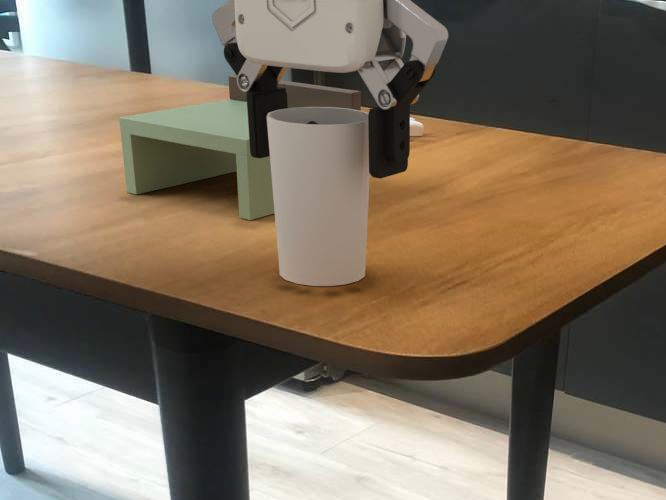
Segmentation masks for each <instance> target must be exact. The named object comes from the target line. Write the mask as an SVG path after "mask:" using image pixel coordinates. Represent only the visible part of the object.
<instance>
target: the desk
mask: <svg viewBox="0 0 666 500" xmlns="http://www.w3.org/2000/svg"><path fill="white" fill-rule="evenodd" d="M227 77H228V96H229V99H226V100H225V99H224V100H223V99H222V100H218V101H212V102H206V103H199V104H193V105H192V104H191V105H186V106H180V107H174V108H169V109H162V110H155V111H150V112H143V113H138V114H130V115H125V116H120V117H118V121H119V130H120V131H119V132H120V139H121V149H122V159H123V160H122V161H123V168H124V169H123V171H124V180H125V187H126V188H125V189H126V193H128V194H131V195H136V196H137V195H140V194H146V193H149V192H154V191H158V190H163V189H166V188H172V187H176V186H180V185H184V184H185V185H186V184H188V183H193V182H197V181H202V180H207V179H211V178H214V177H215V178H216V177H218V176H222V175H228V174H231V173H236V179H237V181H236V182H237V201H238V217H239V218H240V219H242V220H248V221H253V220H256V219H260V218H263V217H267V216H271V215H275V212H274V200H273V188H272V176H271V163H270V156H269V157H264V158H254V157H252V156H251V154H250V142H249V126H248V111H247V96H246V93H247V92H243V91H241V90H240V89H239V87H238V85H237V75H236V74H229V75H228V76H227ZM277 87H283V88H286V93H287V102H288V108H298V107H335V108H346V109H354V110H359V111H362V99H361V98H362V96H361V95H362V92H361V91H360V90H355V89H348V88H347V89H346V88H340V87H332V86H325V85H318V84H312V83H311V84H310V83H303V82H298V81H297V82H296V81H290V80H289V81H288V80H282V79H281V80H280V81H279V83H278V85H277Z"/></svg>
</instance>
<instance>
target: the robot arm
mask: <svg viewBox="0 0 666 500" xmlns="http://www.w3.org/2000/svg"><path fill="white" fill-rule="evenodd" d="M211 19H212V20H211V21H212V24H213V26H214V28H215V31H216V33H217V36H218V39H219V41H220V44H221V46H222V47H223V56H224V59H225V60H226V62H227V64H228V65H229V66H230V68H231V70H232V71H233V72H234V73H235V74H234V75H237V85H238V87H239V89H240V90H241V91H243V92H247V93H246V96H247V111H248V126H249V142H250V154H251V156H252V157H254V158H264V157H269V156H270V151H269V139H268V127H267V114H268V113H269V112H272V111H275V110H280V109H287V108H288V102H287V93H286V88H283V87H277V85H278V83H279V81H280V80H282V78H283V77H284V75H285V73H286V71H287V70H288V69H297V70H306V71H315V72H325V73H337V74H346V73H353V72H356V71H357V72H358V74H359V76H360V77H361V80H362V81H363V82H364V84H365V86H366V87H367V89H368V91H369V92H370V94H371V96H372V97H373V99H374V101H375V103H376V104H377V106H376V107H372V108H371V107H370V108H369V111H368V113H369V114H368V135H369V173H370V177H372V178H374V179H379V180H380V179H385V178H388V177H390V176H391V177H392V176H394V175H395V176H396V175H398V174H401V173H404V172H406V171H407V169H408V168H409V157H410V154H411V153H410V151H411V136H410V118H411V105H414V104H416V103H417V102H418V101H419V99H420V93H421V92H422V91H424V89H425V88H426V87H427V86H428V84H429V83H430V82H431V81H432V80H433V78H434V77H435V75H436V65H437V64H439V61H440V59H441V57H442V54H443V52H444V49H445V47H446V45H447V42H448V40H449V31H448V29H447V27H446V26H445V25H443V24H442V23H441V22H439V21H438V20H437V19H436V18H434V17H433V16H432V15H430V14H429V13H427V12H426V11H425V10H424V9H422V8H421V7H420V6H418V5H417V4H416V3H414V2H413V1H412V0H227V2H225V3H223V5H221V6H220V7H218V8H217V9H216V10H214V11H213V12H212V16H211ZM407 36H408V37H409V38H410V39H411V42H412V48H411V52H410V57H409V60H408V61H407V62H405V63H404V62H403V60H402V59H403V56H404V53H405V49H406V48H405V47H406V43H407V42H406V40H407Z"/></svg>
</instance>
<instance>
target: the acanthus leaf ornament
mask: <svg viewBox="0 0 666 500" xmlns="http://www.w3.org/2000/svg"><path fill="white" fill-rule="evenodd" d="M424 127H425V126H424V124H423V123H422V122H420V121H417V120H416V118H414V117H410V137H423V134H424V129H425V128H424Z"/></svg>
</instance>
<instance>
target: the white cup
mask: <svg viewBox="0 0 666 500" xmlns="http://www.w3.org/2000/svg"><path fill="white" fill-rule="evenodd" d="M368 114H369V112H366V111H363V110H361V111H359V110H354V109H346V108H335V107H298V108H287V109H280V110H275V111H272V112H269V113H268V114H267V127H268V139H269V151H270V163H271V176H272V188H273V200H274V212H275V213H274V222H275V233H276V248H277V258H278V259H277V260H278V271H279V276H280V277H281V278H282V279H284V280H285V281H288V282H290V283H294V284H297V285H304V286H310V287H335V286H342V285H343V286H345V285H349V284H353V283H356V282H359V281H360V280H362V279H363V278H365V277H366V266H367V265H366V263H367V244H368V223H369V222H368V220H369V204H370V203H369V201H370V179H371V174H370V173H369V135H368Z"/></svg>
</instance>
